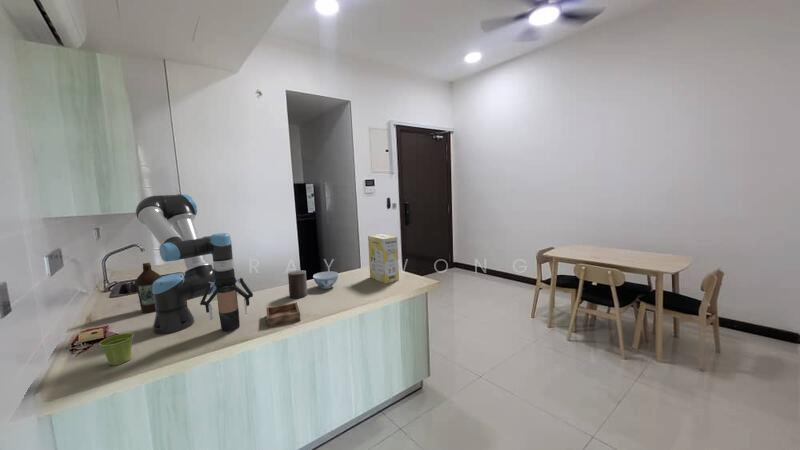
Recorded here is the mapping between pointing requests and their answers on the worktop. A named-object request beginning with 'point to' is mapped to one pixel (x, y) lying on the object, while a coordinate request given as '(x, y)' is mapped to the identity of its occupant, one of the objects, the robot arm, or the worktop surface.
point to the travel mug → (228, 308)
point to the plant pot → (117, 348)
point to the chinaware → (325, 279)
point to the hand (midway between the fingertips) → (229, 315)
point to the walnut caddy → (282, 314)
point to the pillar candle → (297, 284)
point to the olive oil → (146, 288)
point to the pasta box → (383, 258)
